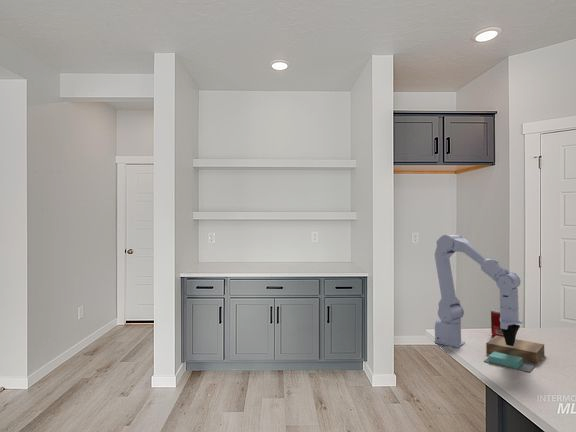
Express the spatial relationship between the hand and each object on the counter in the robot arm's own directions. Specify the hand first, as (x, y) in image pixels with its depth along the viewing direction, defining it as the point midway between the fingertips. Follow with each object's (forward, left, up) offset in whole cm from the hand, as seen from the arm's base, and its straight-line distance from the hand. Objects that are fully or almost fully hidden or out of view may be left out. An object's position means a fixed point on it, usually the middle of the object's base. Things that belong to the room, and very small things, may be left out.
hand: (510, 345), depth 134 cm
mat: (+1, -5, -5) cm, 7 cm away
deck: (0, +6, -5) cm, 8 cm away
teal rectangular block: (0, -6, -3) cm, 6 cm away
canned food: (-10, +27, -5) cm, 29 cm away
